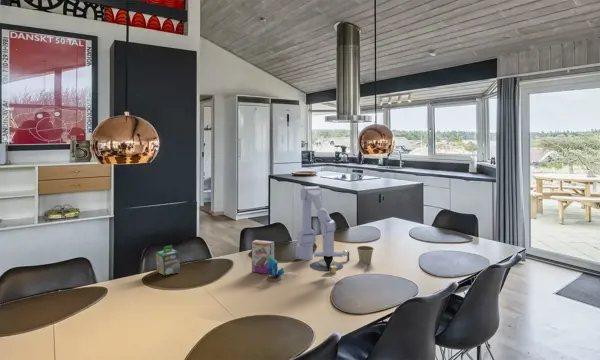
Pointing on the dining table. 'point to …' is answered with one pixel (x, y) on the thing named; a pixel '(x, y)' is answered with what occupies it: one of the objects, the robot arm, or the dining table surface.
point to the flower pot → (365, 254)
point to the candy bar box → (261, 255)
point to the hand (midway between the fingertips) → (328, 270)
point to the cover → (323, 264)
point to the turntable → (332, 268)
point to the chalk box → (167, 261)
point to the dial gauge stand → (346, 254)
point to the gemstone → (274, 270)
